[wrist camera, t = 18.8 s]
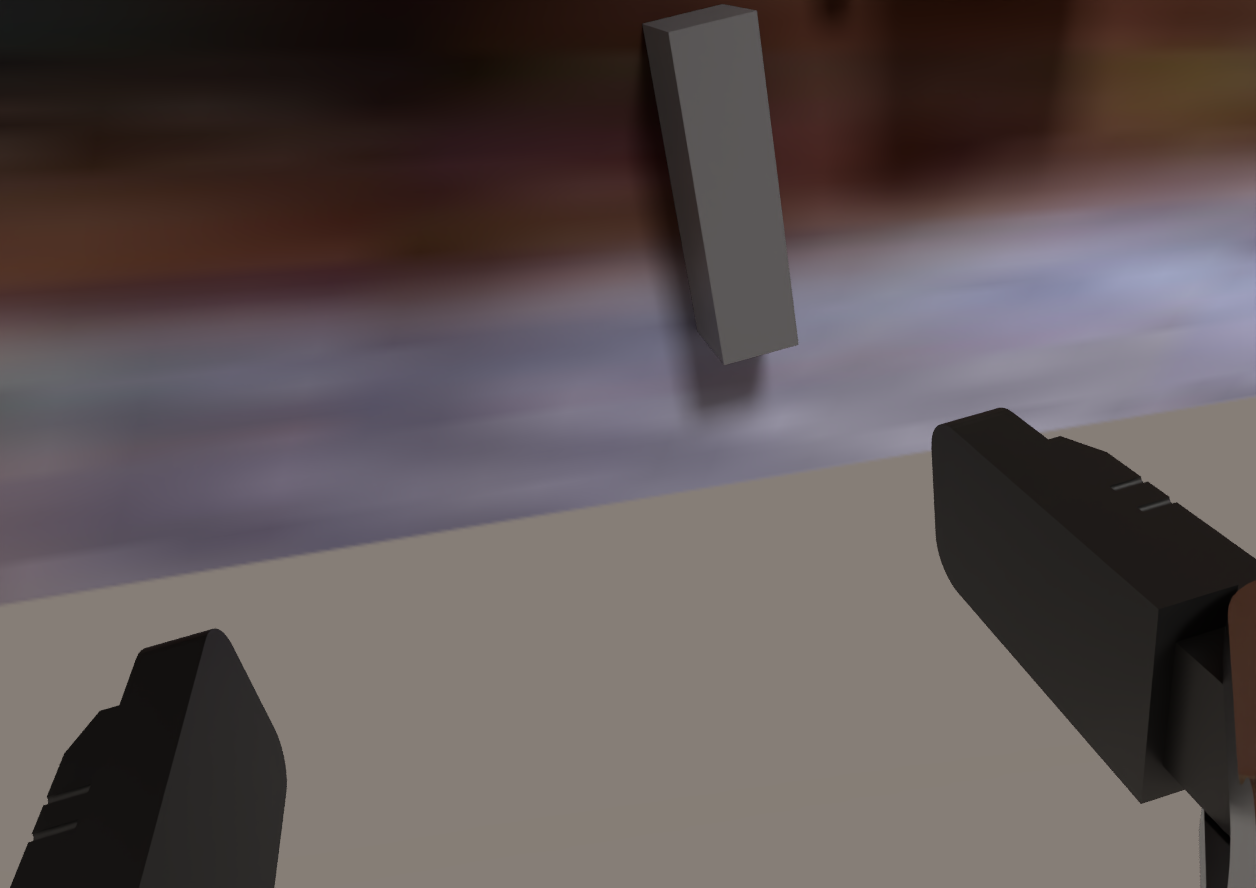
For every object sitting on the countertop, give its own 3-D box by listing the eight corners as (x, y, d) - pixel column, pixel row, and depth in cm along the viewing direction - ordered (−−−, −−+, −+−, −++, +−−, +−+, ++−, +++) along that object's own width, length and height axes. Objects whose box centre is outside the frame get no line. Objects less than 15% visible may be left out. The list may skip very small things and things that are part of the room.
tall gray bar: (640, 23, 35) (668, 32, 32) (720, 4, 35) (756, 10, 32) (695, 329, 41) (724, 365, 37) (764, 310, 41) (798, 344, 38)
